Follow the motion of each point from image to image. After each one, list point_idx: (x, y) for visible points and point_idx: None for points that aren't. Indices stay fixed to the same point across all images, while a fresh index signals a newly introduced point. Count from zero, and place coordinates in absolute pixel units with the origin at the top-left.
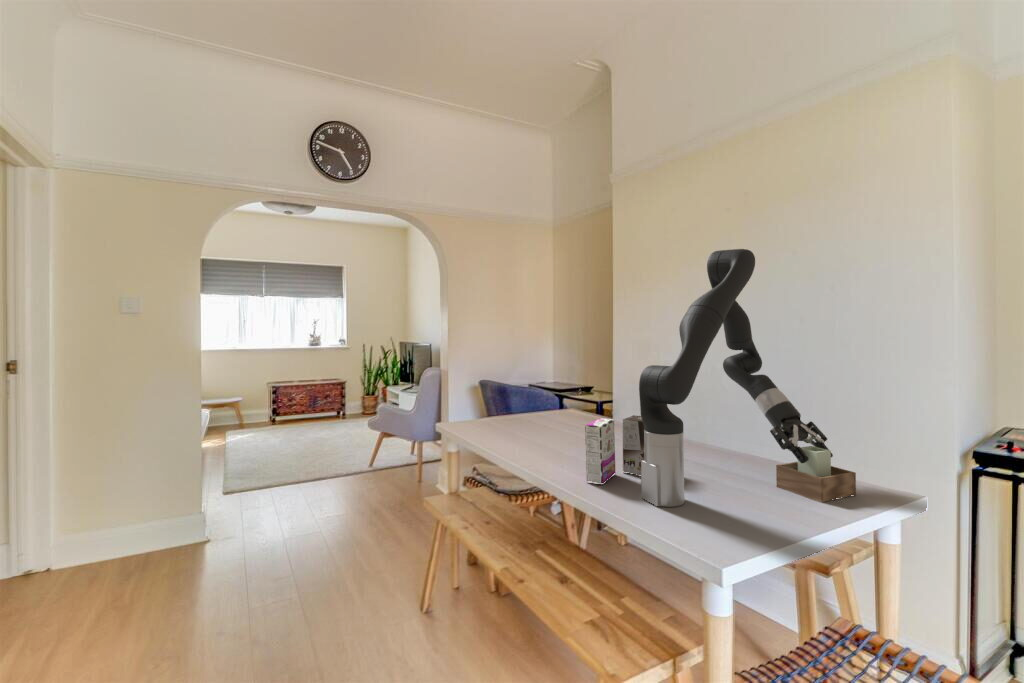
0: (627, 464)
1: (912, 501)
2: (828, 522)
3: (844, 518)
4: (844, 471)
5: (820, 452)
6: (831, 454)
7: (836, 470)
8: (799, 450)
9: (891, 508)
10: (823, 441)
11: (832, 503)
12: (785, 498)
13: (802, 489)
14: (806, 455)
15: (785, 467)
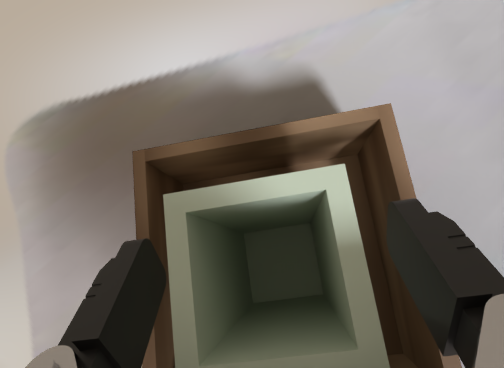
0: None
1: (63, 105)
2: (481, 4)
3: (399, 24)
4: (149, 197)
5: (293, 172)
6: (132, 242)
7: (155, 239)
8: (463, 265)
9: (180, 69)
10: (42, 359)
11: None
12: (478, 216)
13: None
14: (403, 218)
15: None
